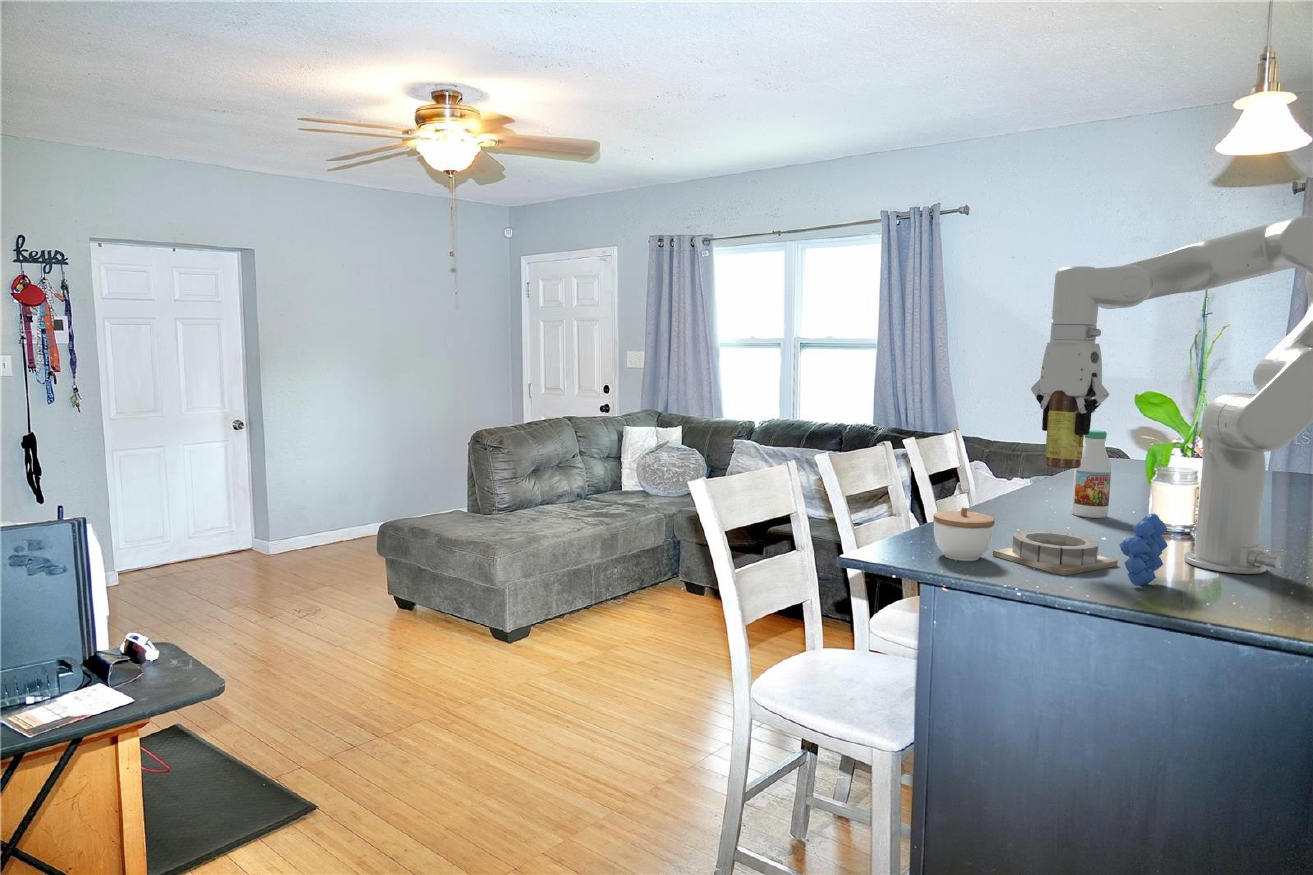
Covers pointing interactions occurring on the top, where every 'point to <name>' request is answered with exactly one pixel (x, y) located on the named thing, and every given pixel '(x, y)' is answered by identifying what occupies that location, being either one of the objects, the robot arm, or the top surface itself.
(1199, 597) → the top surface
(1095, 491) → the milk bottle
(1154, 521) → the grapes
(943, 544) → the lidded jar
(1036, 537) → the collar board
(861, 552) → the top surface
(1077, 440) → the sauce bottle
